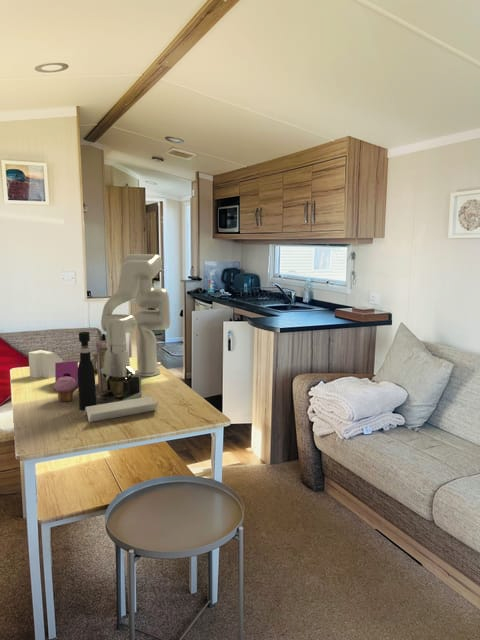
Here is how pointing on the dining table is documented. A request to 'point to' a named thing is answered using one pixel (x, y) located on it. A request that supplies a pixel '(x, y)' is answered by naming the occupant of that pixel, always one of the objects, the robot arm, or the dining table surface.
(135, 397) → the tray
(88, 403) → the wine bottle
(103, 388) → the box
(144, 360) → the robot arm
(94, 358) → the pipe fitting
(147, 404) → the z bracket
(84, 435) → the dining table surface
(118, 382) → the cup
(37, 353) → the corner bracket
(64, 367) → the mounting bracket
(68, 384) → the cupcake
